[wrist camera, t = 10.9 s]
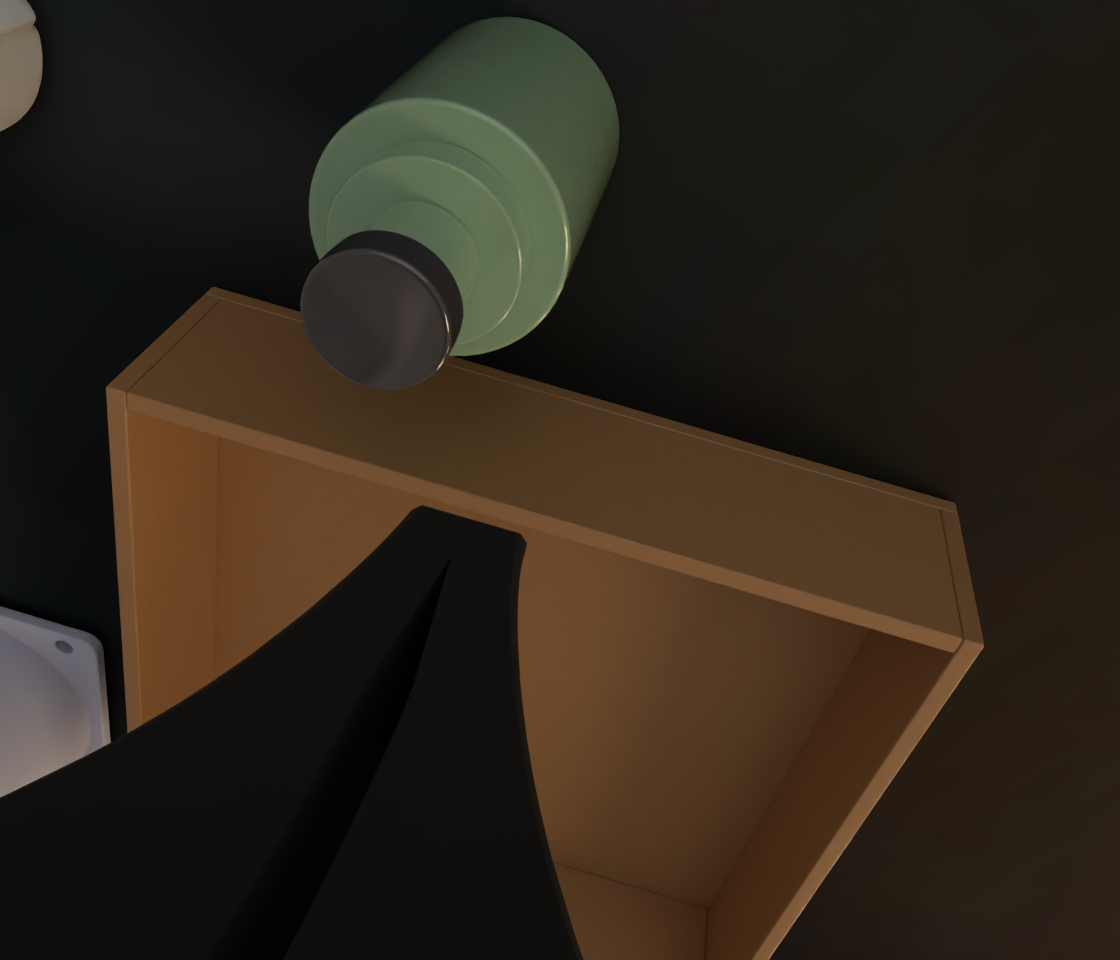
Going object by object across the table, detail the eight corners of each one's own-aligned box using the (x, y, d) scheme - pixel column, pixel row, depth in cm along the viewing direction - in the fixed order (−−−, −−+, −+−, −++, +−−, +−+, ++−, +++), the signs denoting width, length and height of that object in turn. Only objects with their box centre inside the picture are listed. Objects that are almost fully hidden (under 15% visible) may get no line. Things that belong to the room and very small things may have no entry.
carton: (717, 907, 32) (707, 1049, 29) (207, 753, 33) (136, 875, 29) (956, 502, 22) (985, 646, 19) (212, 284, 23) (104, 386, 19)
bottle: (399, 200, 21) (219, 408, 14) (426, -12, 18) (225, 125, 12) (591, 255, 21) (497, 490, 14) (645, 50, 18) (560, 222, 12)
